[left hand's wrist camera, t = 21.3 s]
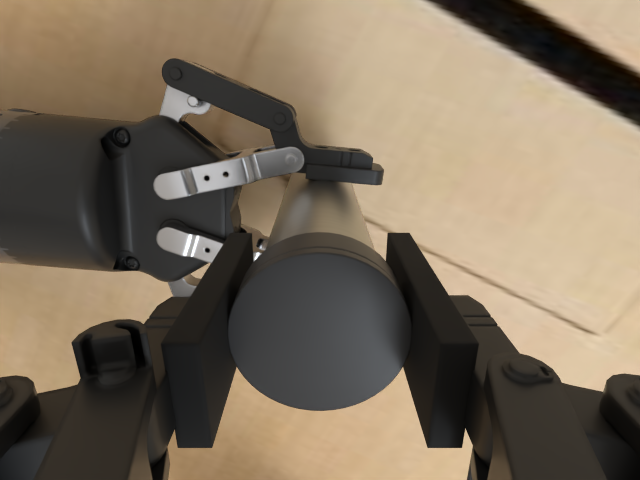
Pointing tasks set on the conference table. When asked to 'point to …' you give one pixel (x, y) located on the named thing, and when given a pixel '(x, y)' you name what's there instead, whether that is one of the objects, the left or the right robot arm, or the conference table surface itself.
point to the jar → (319, 210)
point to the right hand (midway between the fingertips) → (372, 219)
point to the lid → (319, 322)
